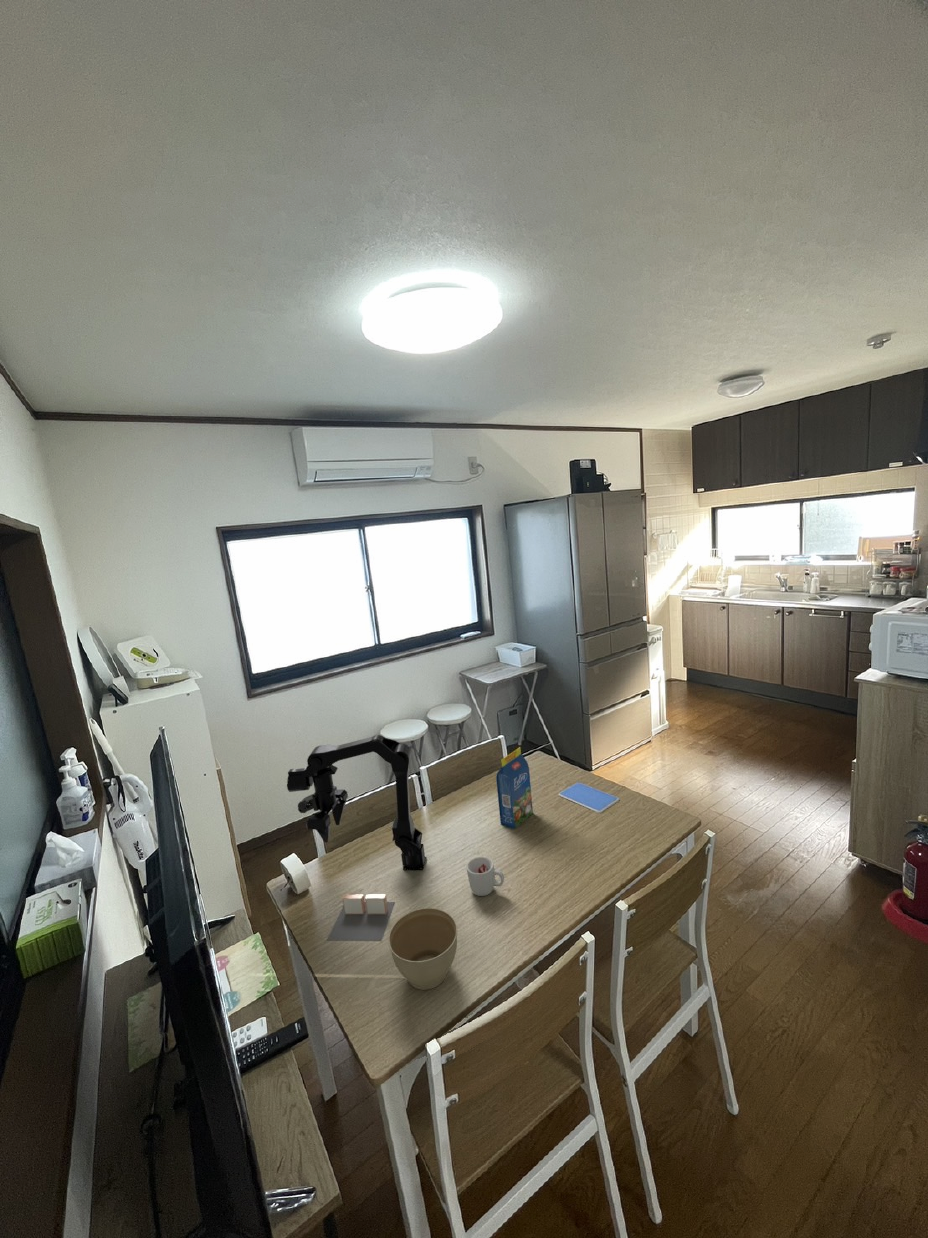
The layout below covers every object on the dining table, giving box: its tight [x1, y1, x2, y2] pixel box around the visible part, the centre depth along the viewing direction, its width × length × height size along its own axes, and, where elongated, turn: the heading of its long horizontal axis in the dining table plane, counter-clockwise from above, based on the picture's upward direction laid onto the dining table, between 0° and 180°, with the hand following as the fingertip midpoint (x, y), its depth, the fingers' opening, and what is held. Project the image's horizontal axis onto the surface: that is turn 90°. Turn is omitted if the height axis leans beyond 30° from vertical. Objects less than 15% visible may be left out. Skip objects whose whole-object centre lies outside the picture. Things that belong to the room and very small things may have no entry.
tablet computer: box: [558, 782, 620, 814], centre depth 189 cm, size 19×13×1 cm, turn 39°
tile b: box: [342, 893, 366, 914], centre depth 141 cm, size 6×2×5 cm, turn 83°
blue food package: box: [495, 746, 534, 830], centre depth 178 cm, size 6×12×25 cm, turn 141°
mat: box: [326, 901, 396, 942], centre depth 138 cm, size 15×14×1 cm
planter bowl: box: [388, 907, 458, 991], centre depth 118 cm, size 16×16×11 cm
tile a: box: [364, 893, 388, 914], centre depth 140 cm, size 6×2×5 cm, turn 83°
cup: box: [465, 856, 505, 897], centre depth 144 cm, size 11×8×8 cm
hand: (332, 833), depth 158 cm, fingers open, 9 cm apart
